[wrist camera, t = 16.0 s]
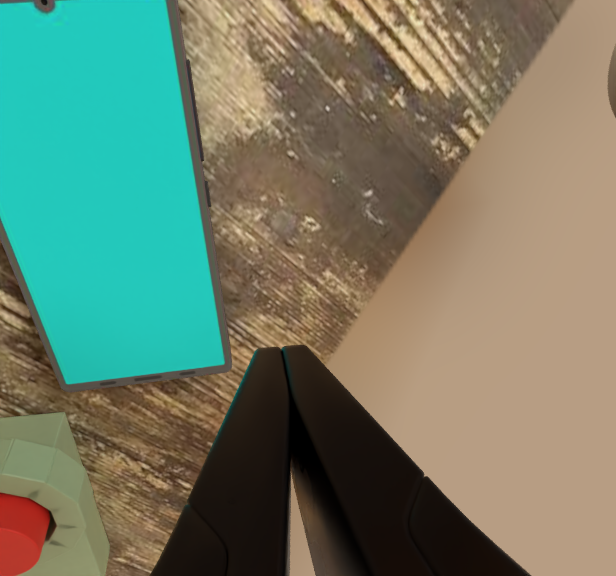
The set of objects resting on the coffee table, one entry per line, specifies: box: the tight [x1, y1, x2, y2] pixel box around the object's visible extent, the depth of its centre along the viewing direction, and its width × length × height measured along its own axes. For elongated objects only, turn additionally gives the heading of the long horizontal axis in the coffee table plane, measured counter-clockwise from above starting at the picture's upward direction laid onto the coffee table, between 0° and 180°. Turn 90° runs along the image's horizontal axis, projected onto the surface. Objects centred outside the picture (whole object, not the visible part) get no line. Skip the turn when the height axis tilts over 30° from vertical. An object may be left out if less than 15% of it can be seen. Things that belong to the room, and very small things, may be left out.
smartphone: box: [0, 0, 232, 392], centre depth 19 cm, size 7×1×15 cm
